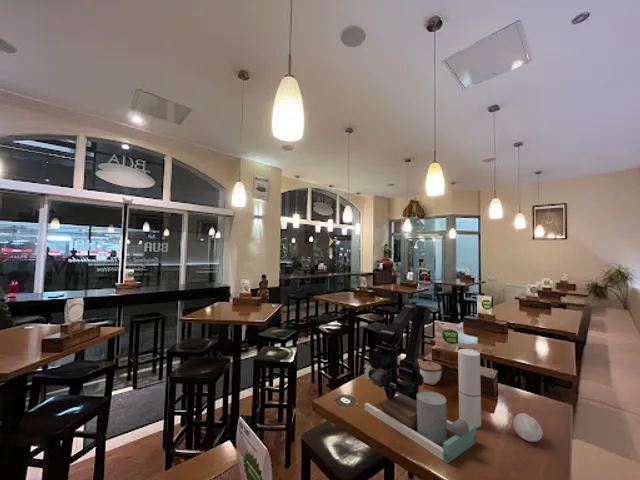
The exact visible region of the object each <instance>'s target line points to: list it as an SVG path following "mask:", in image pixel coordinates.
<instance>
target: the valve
mask: <svg viewBox="0 0 640 480" xmlns="http://www.w3.org/2000/svg"><path fill="white" fill-rule="evenodd" d="M371 369H374V368H372V367H371V365H370V364H369V362H368V363H365V369H364V373H365V380H368V381H372V378H370V377H369V371H370V370H371Z"/></svg>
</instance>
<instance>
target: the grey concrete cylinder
mask: <svg viewBox="0 0 640 480" xmlns="http://www.w3.org/2000/svg"><path fill="white" fill-rule="evenodd" d="M416 396H417V400H416V401H417V428H416V432H417V433H419V434H420V435H422V436H424V437H425V438H427V439H429V440H430V441H432V442H434V443H435V444H437V445H439V444H441V445H442V444H443V443H444V442H445V441H447V440H448V436H447V435H448V434H447V433H448V431H447V430H448V429H447V422H446V419H447V398H446V397H445V396H444V395H443V394H442V393H439V392H436V391H432V390H421V391H420V390H419V392H418V393H417V395H416Z"/></svg>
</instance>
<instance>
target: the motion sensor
mask: <svg viewBox="0 0 640 480" xmlns="http://www.w3.org/2000/svg"><path fill="white" fill-rule="evenodd" d="M513 419H514V420H513V428H514V430H515V432H516V434H517V435H518V436H519V437H520V438H521V439H523V440H525V441H527V442H530V443H532V442H533V443H535V442H538V441H540V440H541V439H542V438H543V433H544V432H543V428H542V426H541V425H540V423H538V421H537V420H536V419H535V418H534V417H532V416H530V415H528V414H527V413H524V412H521V413H518V414H516V415H515V417H513Z"/></svg>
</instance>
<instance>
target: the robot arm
mask: <svg viewBox="0 0 640 480" xmlns="http://www.w3.org/2000/svg"><path fill="white" fill-rule="evenodd" d="M431 312H432V311H431V309H430V308H429V306H428V305H420V304H413V303H405V304H404V305H403V308H402V309H401V311H400V312H399V313H398V315H397V316H396V317H395V318H394V320H393V321H392V322H391V323H389V324H386V325H385V326H384V327H383V328H382V329H381V330H380V331H379V334H378V337H377V339H376V342H375V344H374V347H375V348H374V349H372V352H371V353H370V354H369V355H368V363H369V364H370V365H371V367H372V368H373V369H371V370H370V371H369V377H370V378H372V380H371V381H372V385H375V386H377V387H379V388H383V390H384V393H385V396H386V399H387V400H389V399H392V398H394V396H395V394H397V393H399V394H400V395H401V394H403V395H405V396H407V397H409V398H411V399H413V400H415V401H417V396H416V395H417V393H418V392H420V387H422V386H423V384H424V382H423V380H424V378H423V376H422V375H421V373H420V366H419V361H418V359H419V354H420V353H419V352H420V347H421V342H422V338H423V337H422V336H423V330H424V329H423V328H424V327H425V325H426V324H427V323H428V322H429V319H430V317H431ZM410 321H411V327H410V331H409V337H408V342H407V348H406V353H405V356H404V357H403V358H401V359H399V360H398V352H399V351H398V350H399V349H401V346H400V342H401V341H402V338H403V334H402V333H403V331H404V330H405V328H406V327H407V326H408V324H409V323H410ZM398 362H399V363H398Z"/></svg>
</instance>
